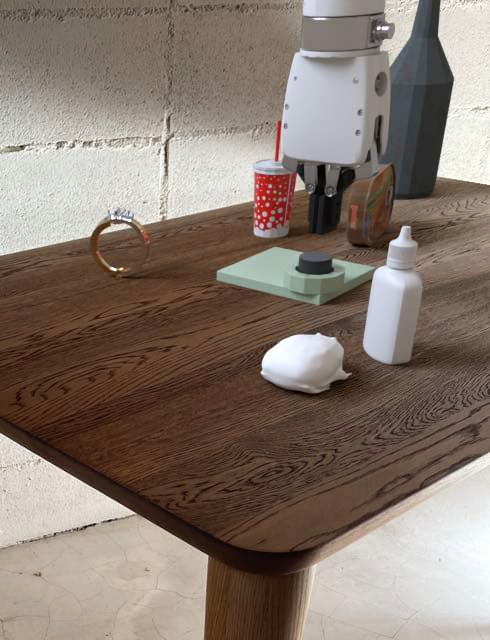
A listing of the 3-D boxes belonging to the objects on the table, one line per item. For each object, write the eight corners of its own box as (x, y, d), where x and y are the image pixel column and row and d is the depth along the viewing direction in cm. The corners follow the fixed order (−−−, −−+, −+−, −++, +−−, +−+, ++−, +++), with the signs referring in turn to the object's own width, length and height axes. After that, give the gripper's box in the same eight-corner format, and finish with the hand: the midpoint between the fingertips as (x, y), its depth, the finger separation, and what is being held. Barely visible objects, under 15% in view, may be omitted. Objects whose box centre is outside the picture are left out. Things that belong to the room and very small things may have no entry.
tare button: (337, 271, 96) (339, 255, 95) (319, 279, 94) (321, 263, 93) (309, 264, 99) (310, 249, 98) (291, 273, 97) (292, 257, 96)
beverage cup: (272, 224, 122) (281, 114, 114) (303, 234, 117) (314, 120, 109) (238, 232, 119) (245, 120, 111) (268, 242, 115) (277, 127, 107)
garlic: (297, 356, 84) (301, 318, 82) (359, 374, 80) (365, 335, 78) (247, 382, 80) (250, 343, 78) (310, 403, 76) (315, 363, 74)
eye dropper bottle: (408, 345, 85) (431, 219, 78) (409, 368, 81) (433, 237, 74) (362, 342, 86) (381, 217, 80) (360, 364, 82) (380, 235, 75)
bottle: (353, 194, 133) (384, -41, 116) (381, 180, 139) (414, -45, 122) (419, 202, 128) (461, -43, 111) (445, 188, 134) (489, -47, 117)
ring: (151, 276, 106) (151, 207, 101) (142, 284, 103) (141, 214, 99) (98, 270, 108) (96, 204, 104) (88, 278, 106) (85, 210, 101)
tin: (363, 254, 109) (372, 183, 104) (338, 251, 111) (346, 181, 106) (392, 223, 120) (402, 157, 115) (369, 221, 121) (378, 156, 116)
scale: (380, 278, 101) (384, 253, 100) (321, 309, 94) (324, 282, 92) (274, 255, 110) (276, 231, 108) (212, 282, 103) (213, 257, 101)
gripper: (433, 32, 81) (404, 233, 92) (296, 30, 90) (283, 213, 101) (393, 42, 77) (367, 251, 87) (253, 39, 86) (245, 229, 96)
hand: (322, 231), depth 94 cm, fingers closed
